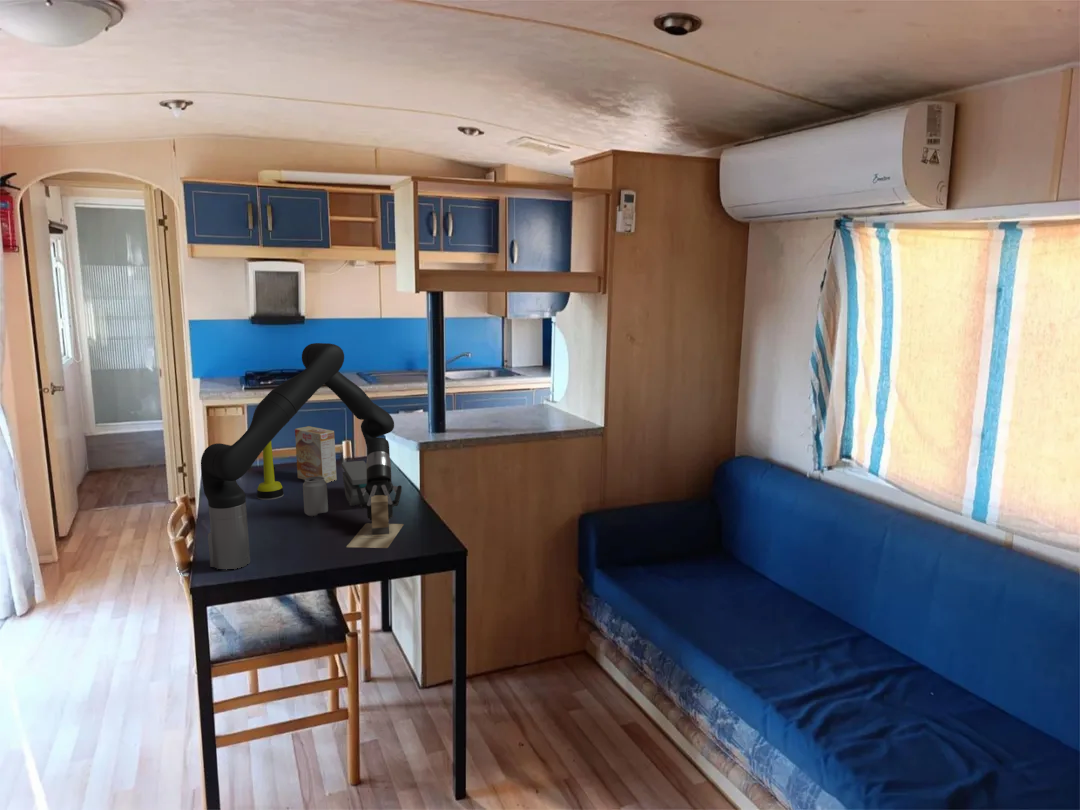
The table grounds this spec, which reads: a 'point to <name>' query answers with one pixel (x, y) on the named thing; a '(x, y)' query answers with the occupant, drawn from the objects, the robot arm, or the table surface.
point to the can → (315, 496)
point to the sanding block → (379, 514)
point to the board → (374, 537)
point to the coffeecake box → (315, 453)
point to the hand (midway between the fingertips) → (380, 518)
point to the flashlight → (269, 478)
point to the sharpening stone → (354, 480)
